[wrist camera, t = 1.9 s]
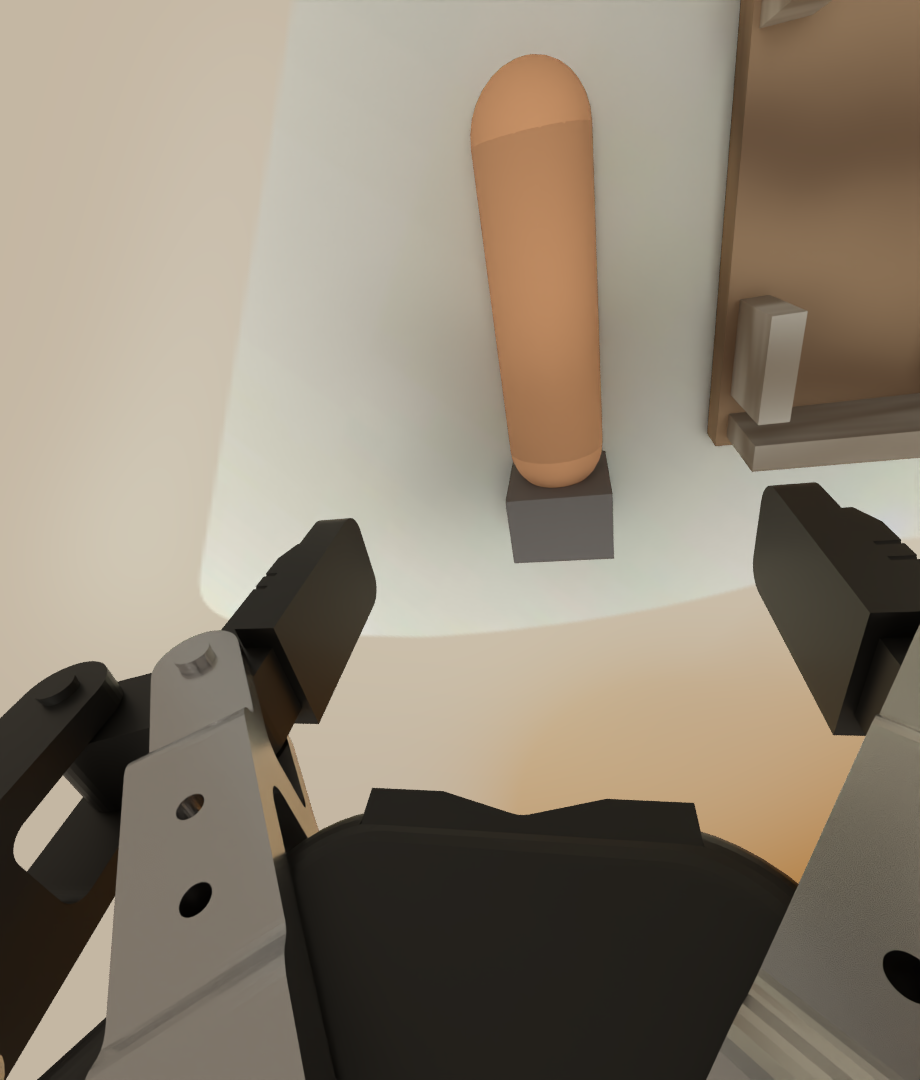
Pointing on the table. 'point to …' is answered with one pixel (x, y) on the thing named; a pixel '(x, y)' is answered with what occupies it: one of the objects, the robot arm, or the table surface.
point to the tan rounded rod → (545, 304)
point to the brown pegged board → (821, 237)
